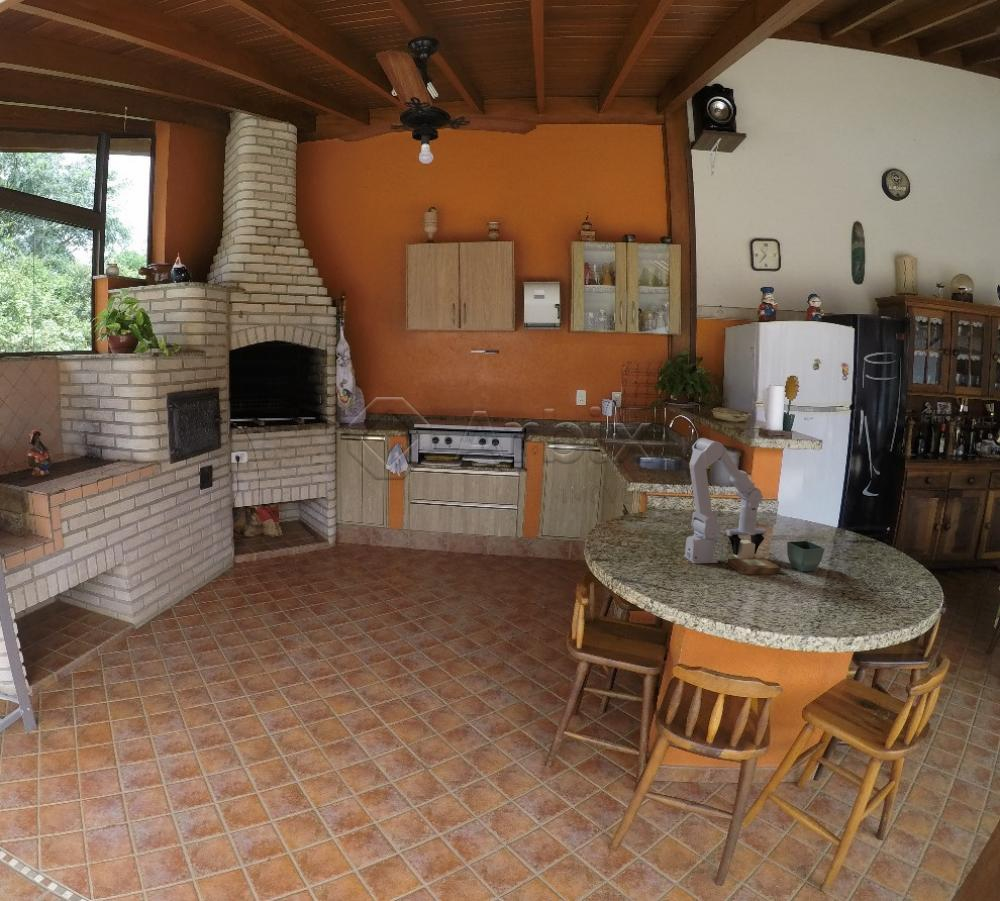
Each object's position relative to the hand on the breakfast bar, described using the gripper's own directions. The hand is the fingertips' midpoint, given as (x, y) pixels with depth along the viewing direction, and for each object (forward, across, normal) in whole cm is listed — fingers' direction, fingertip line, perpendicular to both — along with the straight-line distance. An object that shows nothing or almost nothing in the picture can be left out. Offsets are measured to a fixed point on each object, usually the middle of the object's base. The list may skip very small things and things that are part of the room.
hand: (744, 554), depth 232 cm
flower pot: (+2, +15, -13) cm, 20 cm away
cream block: (+2, 0, 0) cm, 2 cm away
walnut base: (+1, -3, -11) cm, 11 cm away
